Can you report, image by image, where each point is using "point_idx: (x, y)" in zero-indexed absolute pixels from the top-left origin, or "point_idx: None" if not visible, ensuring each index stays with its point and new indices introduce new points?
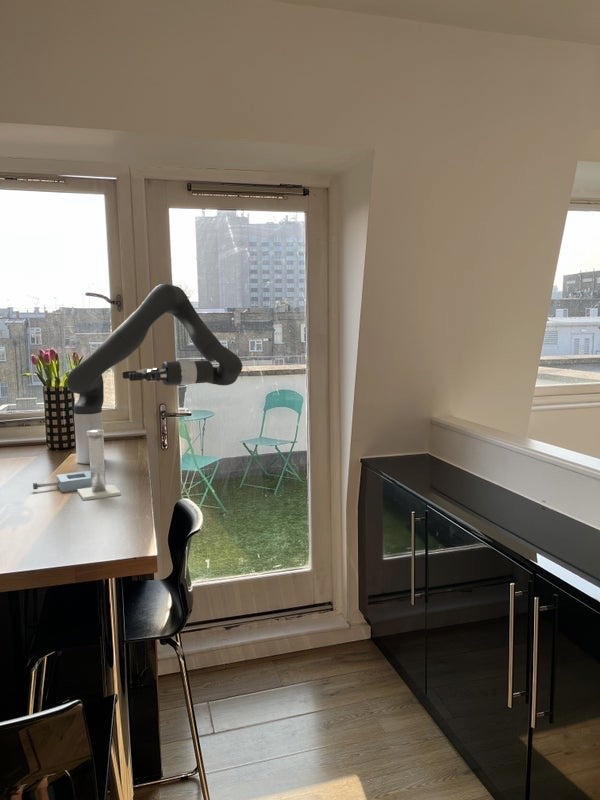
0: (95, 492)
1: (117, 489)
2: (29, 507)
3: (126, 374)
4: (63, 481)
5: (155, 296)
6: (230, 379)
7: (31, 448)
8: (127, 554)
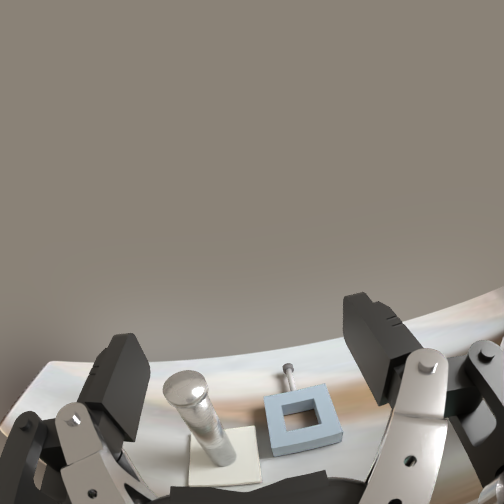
0: None
1: (211, 484)
2: (205, 377)
3: (353, 328)
4: (265, 399)
5: None
6: None
7: None
8: (10, 419)
